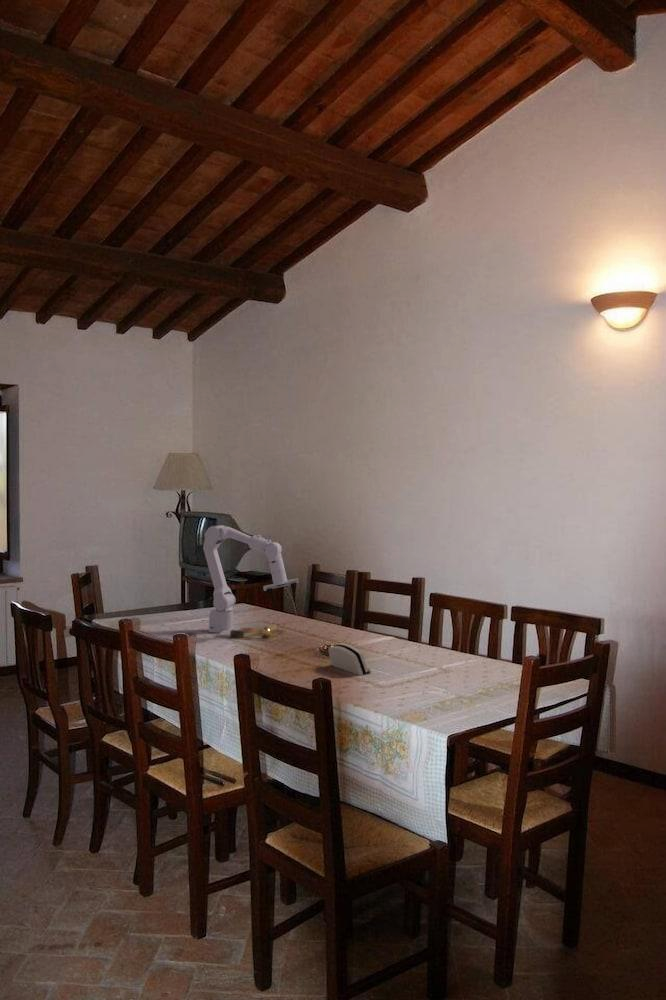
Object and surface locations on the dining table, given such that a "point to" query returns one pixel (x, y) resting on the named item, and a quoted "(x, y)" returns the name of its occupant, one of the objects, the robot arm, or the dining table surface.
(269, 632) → the swing bar
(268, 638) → the door board
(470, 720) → the dining table surface
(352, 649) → the grey half-round piece
